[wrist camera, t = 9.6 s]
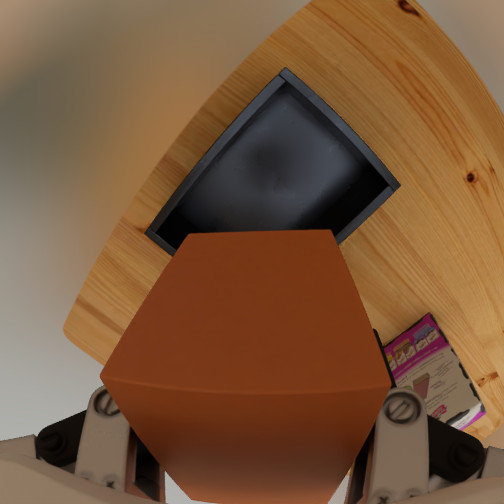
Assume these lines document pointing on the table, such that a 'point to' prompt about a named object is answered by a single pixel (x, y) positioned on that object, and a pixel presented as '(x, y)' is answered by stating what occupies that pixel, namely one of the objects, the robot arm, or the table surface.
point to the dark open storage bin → (278, 173)
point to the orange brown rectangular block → (252, 368)
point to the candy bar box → (434, 373)
